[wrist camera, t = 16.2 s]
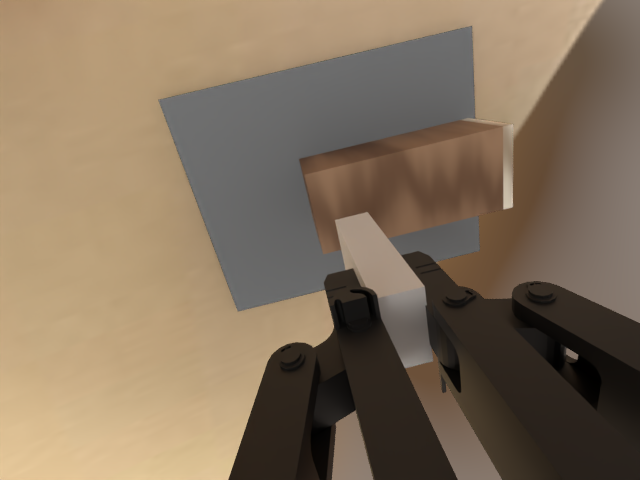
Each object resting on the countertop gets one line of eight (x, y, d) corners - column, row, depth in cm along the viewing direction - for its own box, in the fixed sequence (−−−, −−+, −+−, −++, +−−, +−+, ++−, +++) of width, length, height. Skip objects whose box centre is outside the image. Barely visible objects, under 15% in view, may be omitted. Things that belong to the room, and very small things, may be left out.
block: (304, 174, 19) (513, 124, 20) (298, 158, 24) (468, 117, 24) (323, 254, 21) (512, 207, 22) (314, 225, 26) (471, 187, 26)
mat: (161, 99, 22) (158, 100, 22) (467, 27, 23) (472, 25, 22) (238, 307, 29) (238, 311, 28) (475, 247, 29) (479, 250, 29)
